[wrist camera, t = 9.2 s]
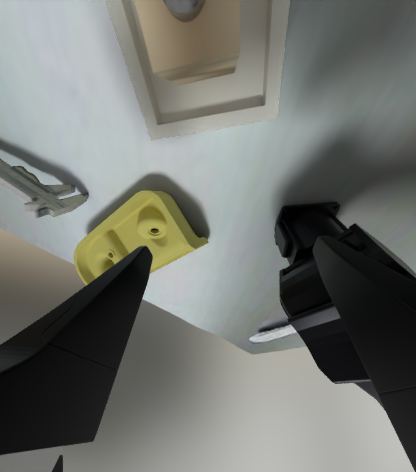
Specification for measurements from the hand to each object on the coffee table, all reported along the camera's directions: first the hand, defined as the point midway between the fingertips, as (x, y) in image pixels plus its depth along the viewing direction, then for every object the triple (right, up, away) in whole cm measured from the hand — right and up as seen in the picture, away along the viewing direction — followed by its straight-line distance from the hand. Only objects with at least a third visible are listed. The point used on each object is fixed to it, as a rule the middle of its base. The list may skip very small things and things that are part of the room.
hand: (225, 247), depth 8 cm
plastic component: (-12, +1, +17) cm, 21 cm away
